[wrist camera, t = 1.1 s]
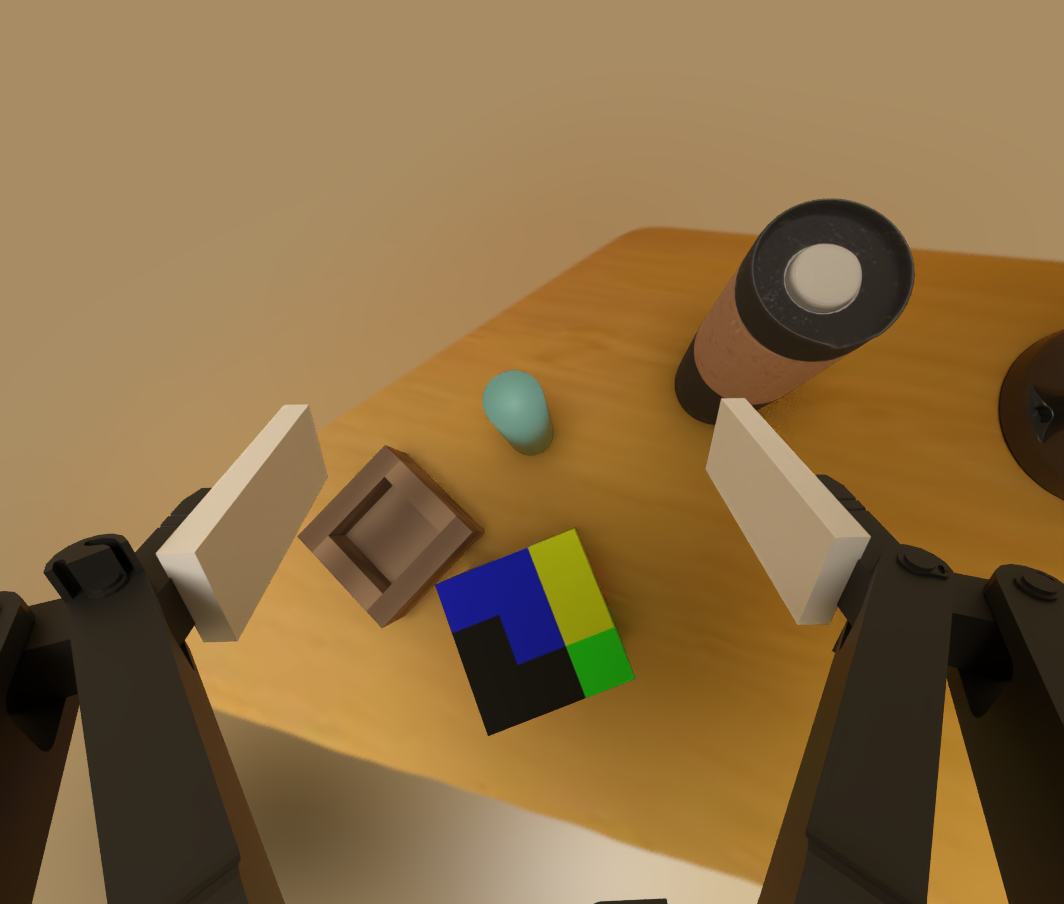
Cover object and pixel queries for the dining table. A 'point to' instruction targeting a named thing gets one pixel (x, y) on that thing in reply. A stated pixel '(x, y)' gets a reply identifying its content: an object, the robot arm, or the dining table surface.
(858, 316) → the travel mug
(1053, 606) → the robot arm
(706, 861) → the dining table surface
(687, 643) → the dining table surface
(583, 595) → the puzzle toy
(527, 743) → the dining table surface
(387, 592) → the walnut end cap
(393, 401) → the dining table surface
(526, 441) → the teal dowel
